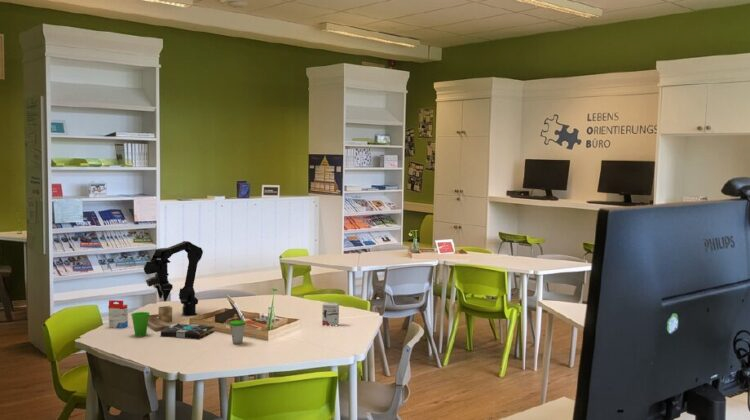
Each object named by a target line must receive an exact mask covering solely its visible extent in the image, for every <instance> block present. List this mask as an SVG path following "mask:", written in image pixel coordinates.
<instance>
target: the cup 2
mask: <svg viewBox="0 0 750 420" xmlns="http://www.w3.org/2000/svg"><path fill="white" fill-rule="evenodd" d="M244 315H245V313H243V314H242V315H241V316H240V320H232V321H229V326H230V332H231V338H232V339H231V340H232V344H233V345H241V344H243V340H244V333H245V325H246V321H245V320H243V317H244Z"/></svg>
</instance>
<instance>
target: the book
mask: <svg viewBox="0 0 750 420" xmlns="http://www.w3.org/2000/svg"><path fill="white" fill-rule="evenodd" d="M213 328H215V325H212V326H211V325H201V324H184V323H182V324H181V323H178V322H177V324H175V325H173V326H172V325H170V326H169V328H168V329H165V330H161V331H160V338H161V337H165V338H166V337H169V338H177V339H195V340H199V341H200V340H201V339H203V338H205V336H208V335H209V334H212V333H214V332H215V330H213Z"/></svg>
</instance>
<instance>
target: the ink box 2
mask: <svg viewBox="0 0 750 420" xmlns="http://www.w3.org/2000/svg"><path fill="white" fill-rule="evenodd" d="M339 311H340V304H339V302H323V304H322V317H321V318H322V321H321V323H322V324H321V325H338V326H339V324H338V323H339V321H340V319H339V315H340V312H339Z"/></svg>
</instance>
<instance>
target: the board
mask: <svg viewBox="0 0 750 420" xmlns="http://www.w3.org/2000/svg"><path fill="white" fill-rule="evenodd" d="M169 326H171V325H170V324H169V323H168V322H164V321H162V320H161V319H159V317H153V318H149V319H148V325H147V328H150V329H151V330H152V331H154V332H161V330H165V329H168V328H169Z"/></svg>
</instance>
